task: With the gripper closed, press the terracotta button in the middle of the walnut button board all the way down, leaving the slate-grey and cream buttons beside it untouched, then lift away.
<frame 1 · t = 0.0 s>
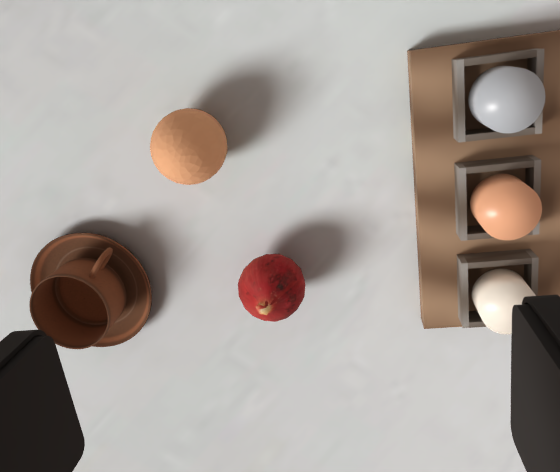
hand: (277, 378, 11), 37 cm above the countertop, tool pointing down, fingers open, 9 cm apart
grey button: (505, 99, 38), point 5 cm above the countertop, slide at 0.0 cm
egg: (201, 138, 47), on the countertop
red fruit: (276, 269, 50), on the countertop
cream button: (504, 300, 43), point 5 cm above the countertop, slide at 0.0 cm
button board: (486, 188, 46), on the countertop
terracotta button: (504, 206, 41), point 5 cm above the countertop, slide at 0.0 cm
cup and saucer: (99, 283, 53), on the countertop
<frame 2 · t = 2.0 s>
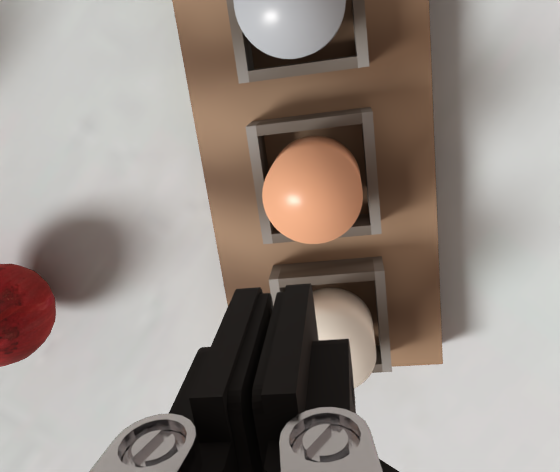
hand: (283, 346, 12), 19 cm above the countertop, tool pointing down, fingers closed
grey button: (292, 2, 22), point 5 cm above the countertop, slide at 0.0 cm
red fruit: (36, 285, 35), on the countertop
cream button: (331, 339, 27), point 5 cm above the countertop, slide at 0.0 cm
button board: (318, 164, 30), on the countertop
terracotta button: (313, 188, 25), point 5 cm above the countertop, slide at 0.0 cm
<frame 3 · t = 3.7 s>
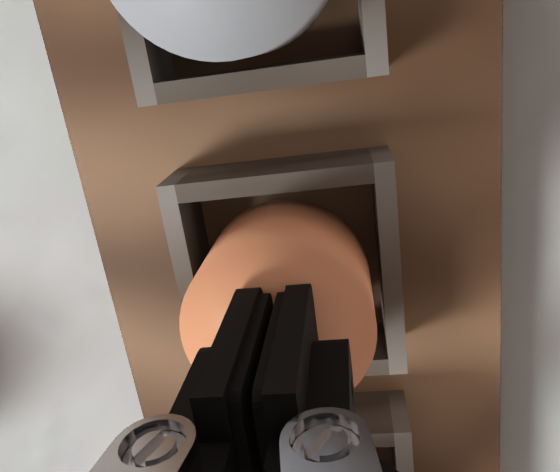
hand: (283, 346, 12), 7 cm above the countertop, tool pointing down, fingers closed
button board: (297, 232, 18), on the countertop
terracotta button: (283, 302, 13), point 5 cm above the countertop, slide at 0.3 cm, touching gripper
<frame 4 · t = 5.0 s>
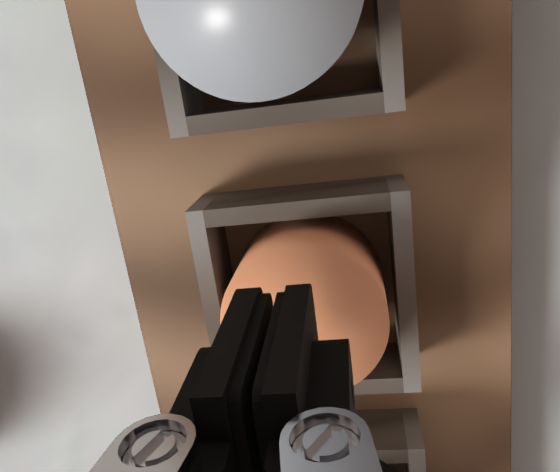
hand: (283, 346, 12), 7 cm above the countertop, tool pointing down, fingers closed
button board: (314, 254, 19), on the countertop
terracotta button: (307, 300, 15), point 4 cm above the countertop, slide at 1.6 cm
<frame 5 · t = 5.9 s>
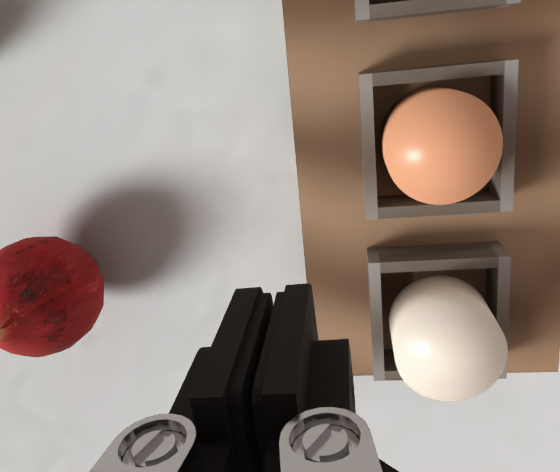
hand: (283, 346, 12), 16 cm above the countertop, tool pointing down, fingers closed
red fruit: (78, 266, 30), on the countertop
cream button: (443, 336, 23), point 5 cm above the countertop, slide at 0.0 cm
button board: (424, 131, 25), on the countertop
terracotta button: (436, 143, 22), point 4 cm above the countertop, slide at 1.6 cm
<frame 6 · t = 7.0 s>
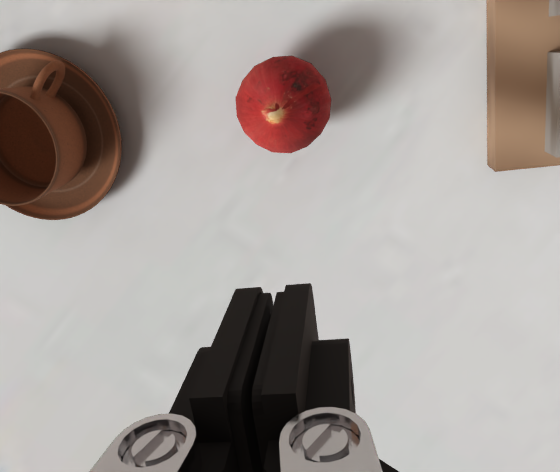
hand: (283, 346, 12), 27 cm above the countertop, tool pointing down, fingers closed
red fruit: (289, 99, 37), on the countertop
cup and saucer: (53, 134, 40), on the countertop
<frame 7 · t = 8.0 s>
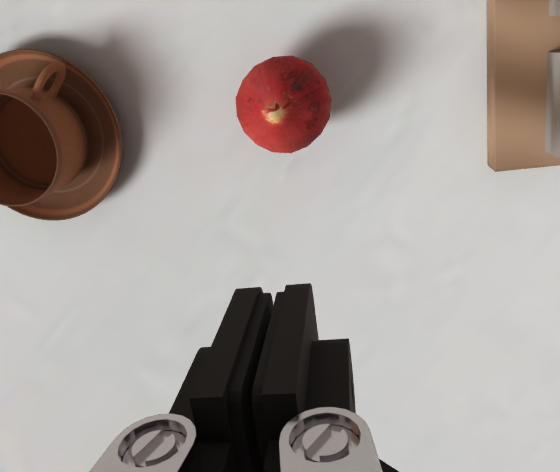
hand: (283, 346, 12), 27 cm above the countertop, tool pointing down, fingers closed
red fruit: (289, 99, 37), on the countertop
cup and saucer: (53, 134, 40), on the countertop
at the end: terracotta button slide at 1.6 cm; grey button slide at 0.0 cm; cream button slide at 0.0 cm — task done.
